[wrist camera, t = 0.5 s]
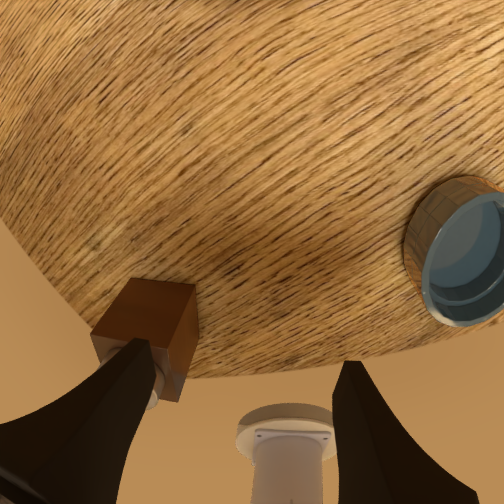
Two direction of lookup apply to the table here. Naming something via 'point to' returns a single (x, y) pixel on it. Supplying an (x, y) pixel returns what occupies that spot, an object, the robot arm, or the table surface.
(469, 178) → the bowl
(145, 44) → the table surface
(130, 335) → the brown block
